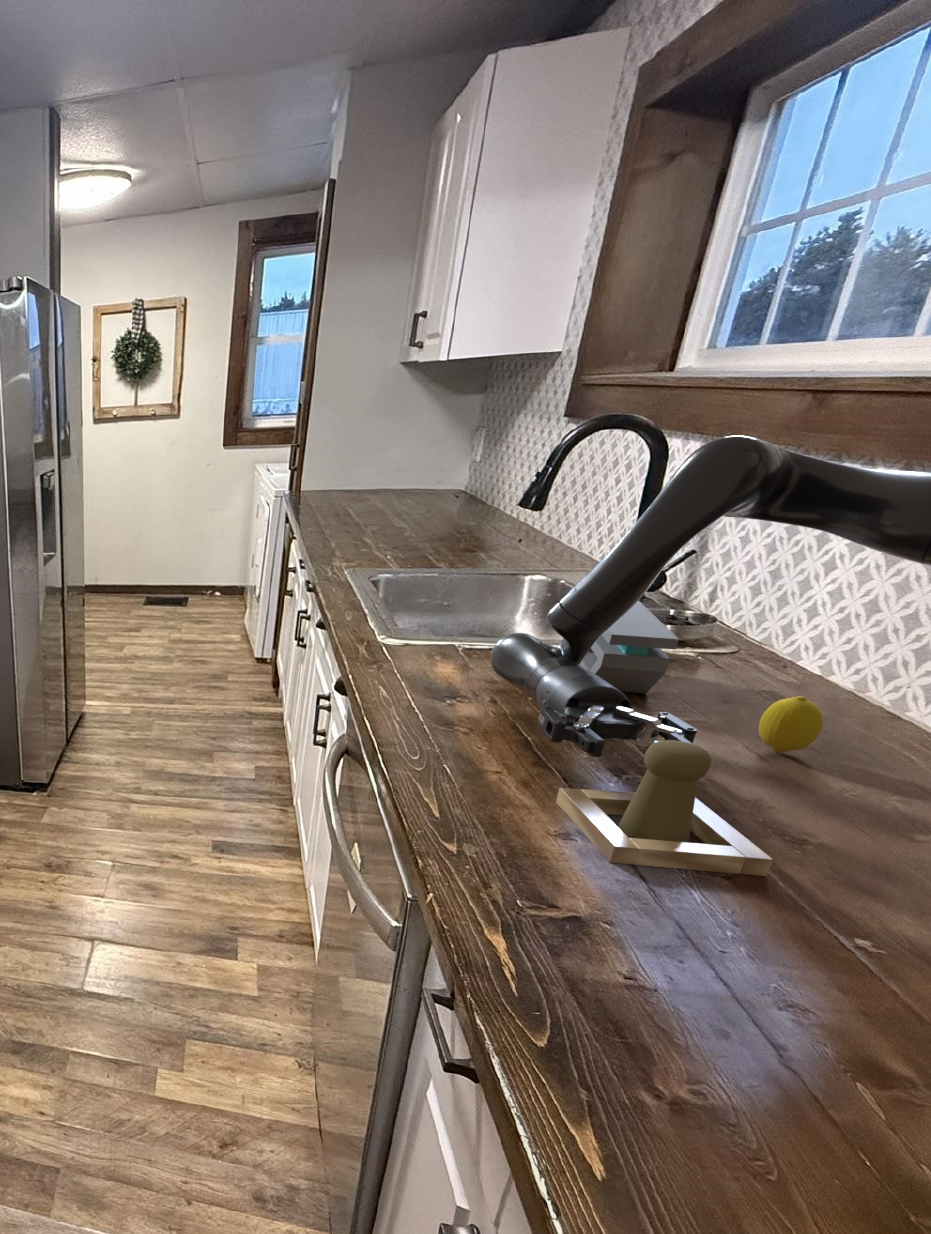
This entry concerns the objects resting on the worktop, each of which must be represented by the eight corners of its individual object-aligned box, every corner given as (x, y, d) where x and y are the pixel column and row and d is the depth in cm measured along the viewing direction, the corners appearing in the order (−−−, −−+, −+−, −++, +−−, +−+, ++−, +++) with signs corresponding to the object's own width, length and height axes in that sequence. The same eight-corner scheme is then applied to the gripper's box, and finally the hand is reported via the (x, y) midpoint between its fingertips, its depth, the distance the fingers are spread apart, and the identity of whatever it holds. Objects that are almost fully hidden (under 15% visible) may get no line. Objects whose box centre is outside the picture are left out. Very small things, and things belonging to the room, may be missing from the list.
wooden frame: (689, 811, 89) (695, 796, 88) (766, 876, 77) (773, 859, 76) (555, 802, 92) (559, 787, 92) (609, 862, 81) (614, 846, 80)
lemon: (819, 764, 98) (843, 705, 95) (764, 759, 100) (786, 702, 97) (793, 746, 103) (815, 690, 100) (741, 742, 105) (761, 687, 102)
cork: (699, 854, 81) (733, 760, 77) (628, 846, 83) (658, 753, 79) (673, 826, 86) (704, 736, 82) (608, 819, 88) (635, 731, 84)
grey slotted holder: (657, 708, 117) (679, 639, 113) (592, 701, 120) (611, 634, 116) (620, 660, 137) (638, 600, 133) (566, 655, 140) (581, 597, 136)
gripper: (524, 672, 102) (578, 718, 88) (652, 677, 98) (731, 725, 84) (511, 724, 105) (562, 777, 90) (635, 731, 101) (709, 786, 87)
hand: (643, 752), depth 87 cm, fingers open, 8 cm apart
